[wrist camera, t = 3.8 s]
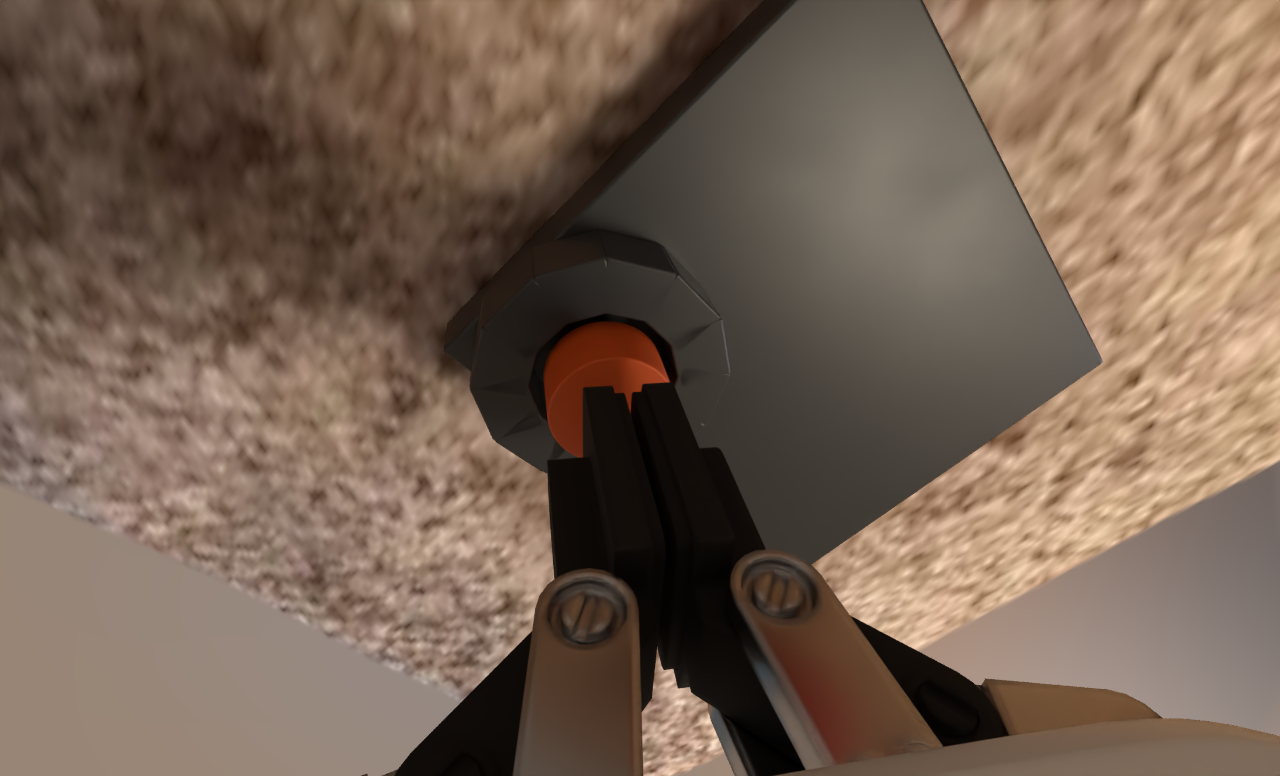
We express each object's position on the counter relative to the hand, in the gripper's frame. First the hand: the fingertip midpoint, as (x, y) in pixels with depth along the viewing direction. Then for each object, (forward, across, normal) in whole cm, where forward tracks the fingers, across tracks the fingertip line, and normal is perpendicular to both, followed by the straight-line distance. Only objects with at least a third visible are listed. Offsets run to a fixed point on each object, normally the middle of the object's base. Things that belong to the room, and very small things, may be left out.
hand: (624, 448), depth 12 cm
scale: (+5, -6, 0) cm, 8 cm away
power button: (+2, 0, 0) cm, 2 cm away
